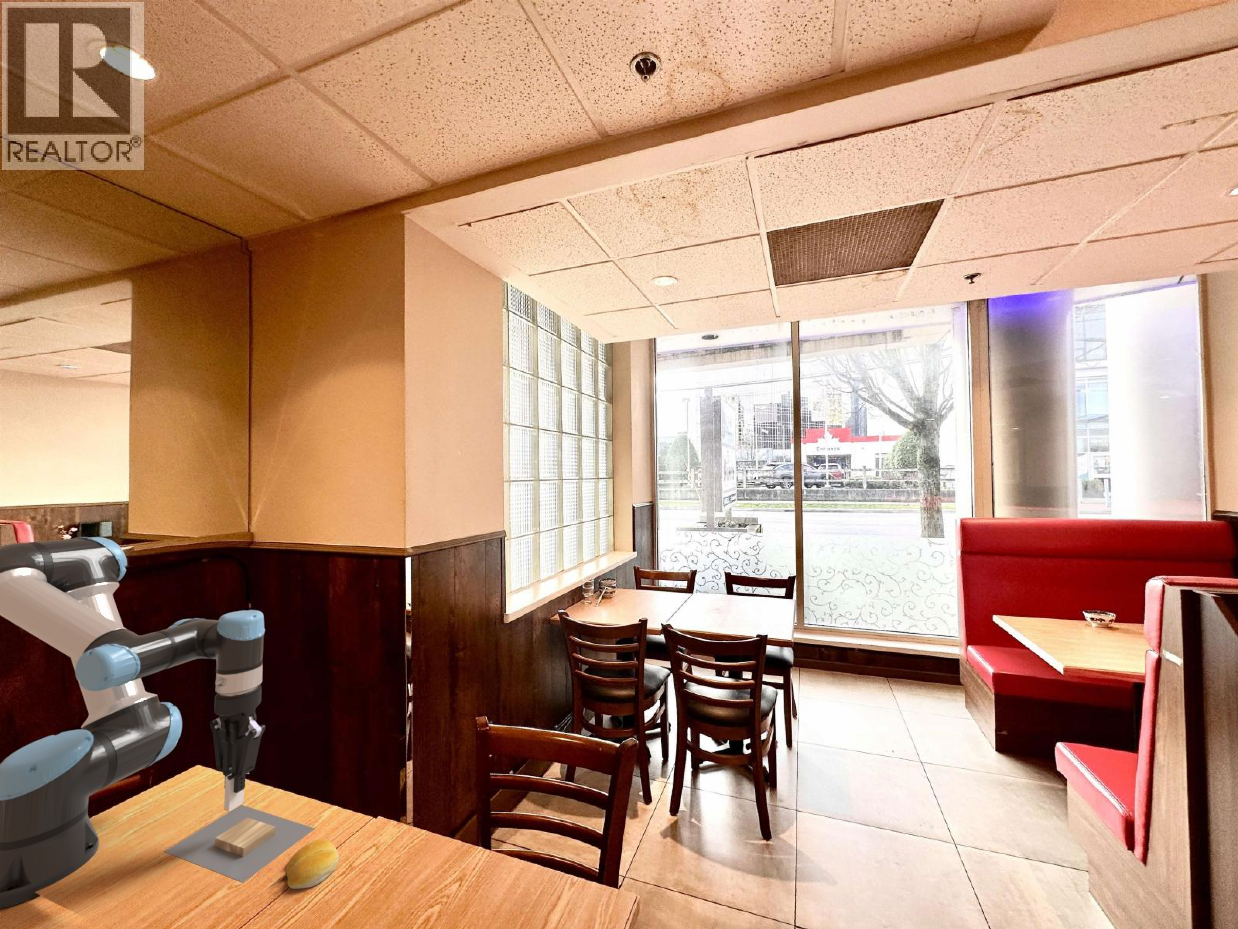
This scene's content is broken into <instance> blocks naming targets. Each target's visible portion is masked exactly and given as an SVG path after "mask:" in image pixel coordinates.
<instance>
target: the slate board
mask: <svg viewBox="0 0 1238 929" xmlns="http://www.w3.org/2000/svg"><path fill="white" fill-rule="evenodd" d="M246 818H251V819H254V820H257V821H260V822H263V823H266V824H269V825H272V826H275V835H274V836H272V837H271V838H269V839H268V840H266V841H265V842H264V843H262V844H261V845H259V846H258V847H256V848H255V849H254V850H252V851H251V852H249V853H248V854H246V855H245V856H244V857H243V856H240V855H237V854H234V853H232V852H229V851H226V850H224V849H221V848H218V847H215V838H216V837H218V836H219V835H221V834H222V833H224V832H225V831H227V830H229V829H230V828H232V827H233V826H235V825H237V824H238V823H240V822H241V821H243V820H244V819H246ZM314 830H316V828H315V827H312V826H309V825H306V824H304V823H300V822H297V821H294V820H289V819H287V818H284V817H281V816H278V815H274V814H272V813H268V812H266V811H262V810H259V809H256V808H253V807H249V806H247V805H244V804H241V805H239V806H237V807H236V808H234V809H233V810H231V811H227V812H226V813H225V814H223V815H221V816H220V817H219V818H217V819H215V820H213V821H212V822H210V823H209V824H207V825H206V826H203V827H202V828H201V829H199V830H196V831H195V832H193V833H192V834H190V835H188V836H187V837H185V838H183V839H182V840H180V841H179V842H177V843H175V844H173V845H172V846H170V847H169V848H167V849H165V850H163V852H164V853H166V854H169V855H171V856H174V857H176V858H179V859H182V860H184V861H187V862H190V863H192V864H194V865H197V866H199V867H202V868H205V869H207V870H210V871H211V872H215V873H217V874H220V875H222V876H225V877H228V878H230V879H232V880H234V881H235V880H236V881H238V882H241V883H246V882H247V880H249V879H250V878H251V877H254V875H256V874H257V873H258V872H259V871H261V870H262V869H264V868H265V867H266V866H267V865H269V864H270V863H272V862H273V861H275V859H277V858H278V857H279V856H281V855H282V854H283V853H285V852H287V851H288V850H289V849H290V848H292V846H294V845H296V844H297V843H298V842H299V841H301V840H302V839H304V838H305V837H306V836H308V835H309V834H310V833H311V832H313V831H314Z"/></svg>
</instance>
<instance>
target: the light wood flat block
mask: <svg viewBox="0 0 1238 929" xmlns="http://www.w3.org/2000/svg"><path fill="white" fill-rule="evenodd" d="M274 835H275V826H272V825H269V824H266V823H263V822H260V821H257V820H254V819H251V818H246V819H244V820H243V821H241V822H240V823H238V824H237V825H235V826H233V827H232V828H230V829H229V830H227V831H225V832H224V833H222V834H221V835H219V836H218V837H216V838H215V847H218V848H221V849H224V850H226V851H229V852H232V853H234V854H237V855H240V856H243V857H244V856H245V855H246V854H248V853H249V852H251V851H252V850H254V849H255V848H256V847H258V846H259V845H261V844H262V843H264V842H265V841H266V840H268V839H269V838H271V837H272V836H274Z"/></svg>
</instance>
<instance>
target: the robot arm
mask: <svg viewBox="0 0 1238 929" xmlns="http://www.w3.org/2000/svg"><path fill="white" fill-rule="evenodd" d="M126 566H128V561H127V557H126V554H125V551H124V550H123V549H122V547H121V546H120V545H119V544H117V543H116V542H115V541H113V540H111V539H108V538H105V537H101V536H96V537H95V536H93V537H91V536H90V537H88V536H78V537H74V538H64V539H53V540H40V541H30V542H17V543H16V542H15V543H10V544H9V543H7V544H5V545H0V616H1V617H3V618H4V619H6V620H8V621H9V622H11V623H12V624H14V625H15V626H17V627H20V629H22V630H25V631H26V632H28V633H29V634H31V635H33V636H34V637H36V638H38V639H39V640H41V641H42V642H45V643H46V644H48V645H49V646H51V647H53V648H54V649H56V650H58V651H59V652H61V653H62V654H65V655H66V656H67V657H69V658H70V660H71V663H72V666H73V669H74V673H75V674H74V675H75V678H76V680H77V681H78V684H79V685H78V686H79V688H80V691H81V693H82V696H83V700H84V703H85V706H86V710H87V711H88V717H87V718H86V720H85V721H84V722H83V724H82V725H81V727H80V728H81V729H73V730H67V731H62V732H60V733H58V734H55V735H54V734H52V735H48V736H45V737H43V738H41V739H38V740H36V741H32V742H31V743H29V744H26V745H25V746H22V747H21V748H19V749H17V750H15V751H14V752H12V753H11V754H10V755H9V756H7V757H5V759H3V761H2V762H0V909H5V908H9V907H12V906H16V905H18V904H22V903H25V902H27V901H30V900H33V899H35V898H37V897H38V898H39V897H40V896H41V894H39V893H37V892H38V891H41V890H43V889H45V888H48V887H49V886H51V885H52V886H53V885H54V884H56V883H58V882H60V881H61V880H63V879H65V878H67V877H68V876H70V875H71V874H73V873H75V872H76V871H77V870H79V869H80V868H81V867H83V866H85V864H87V863H88V862H89V861H90V860H91V859H92V858H93V857H94V856H95V855H96V853H97V852H98V850H99V846H100V839H99V836H98V833H97V832H96V829H95V827H94V825H93V823H92V821H91V819H90V816H89V815H88V814H89V812H88V811H89V797H90V796H92V795H94V794H95V793H97V792H99V791H101V790H103V789H105V788H107V787H109V786H111V785H113V784H115V783H117V782H119V781H121V780H123V779H125V778H127V777H130V776H131V775H133V774H135V773H137V772H140V770H144V769H146V768H148V767H150V766H152V765H153V764H155V763H156V762H158V761H160V760H162V759H163V758H165V757H166V756H167V755H169V754H170V753H171V752H172V751H173V750H174V749H175V747H176V746H177V743H178V741H179V739H180V737H181V734H182V729H183V719H182V715H181V711H180V710H179V709H178V707H177V706H176V705H174V704H173V703H171V702H166V701H165V702H164V701H162V702H160V699H159V696H158V694H157V693H156V694H155V693H151V692H148V691H146V690H145V686H144V683H143V681H142V678H143V677H148V676H150V675H153V674H155V673H158V672H160V671H164V670H167V669H170V668H173V667H175V666H179V665H182V664H185V663H188V662H190V661H193V660H197V659H208V660H209V659H210V660H216V667H215V673H216V675H215V676H216V677H215V682H214V684H215V693H216V694H215V695H214V706H213V707H214V709H213V711H214V714H216V715H217V716H218V717H217V718H216V719H213V720H210V722H209V726H210V729H211V732H212V737H213V746H214V747H213V749H214V755H215V756H214V757H215V766H216V770H217V771H222V775H223V776H224V804H223V805H224V806H223V810H224V811H226V812H230V811H232V810H233V809H235V808H237V807H238V806H240V805H243V804H244V801H245V800H244V799H245V787H246V774H248V773H249V772H251V771H253V770H254V769H255V767H256V763H257V758H258V754H259V749H260V745H261V739H262V736H263V733H264V732H265V730H266V725H265V724H261V725H259V724H258V723H257V714H256V708H257V707H258V706H259V705H260V704H261V702H262V689H263V688H262V687H263V686H262V685H261V684H262V682H263V671H264V670H263V667H264V666H263V662H264V661H263V658H264V657H263V656H264V655H263V654H264V641H265V640H264V638H265V632H266V629H265V617H264V613H263V612H262V611H260V610H258V609H257V610H256V609H248V610H244V609H243V610H238V611H232V612H228V613H225V614H222V615H221V616H220V617H219V619H217V620H216V619H206V618H199V617H198V618H197V617H195V618H186V619H185V618H184V619H181V620H178V621H175V622H174V623H173V624H172V625H170V626H169V627H168V628H166V629H162V630H161V629H160V630H158V631H154V632H150V633H146V634H143V635H138V634H137V633H135V632H134V631H131V630H129V629H127V628H126V627H124V625H123V621H122V618H121V616H120V613H119V611H118V608H117V604H116V602H115V599H114V593H115V592H116V590H118V588H119V587H120V583H119V581H121V579H123V577H124V576H125V574H126V572H127V569H126Z"/></svg>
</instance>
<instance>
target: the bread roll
mask: <svg viewBox="0 0 1238 929" xmlns="http://www.w3.org/2000/svg"><path fill="white" fill-rule="evenodd" d="M339 857H340V855H339V852H338V850H337V848H336V846H335V845H334V844H333V843H332V842H331V841H329V840H326V839H318V840H315V841H311V842H309V843H307V844H305V845H304V846H302V847H301V848H299V849H298V850H297V851H296V852H294V854H293V855H292V856H291V857H290V859H289V860H288V861H287V864H286V869H285V871H286V872H285V874H286V877H287V885H288V887H289V888H290V889H293V890H299V889H300V890H301V889H307V888H312V887H315V886H317V885H319V884H320V883H322V882H323V881H325V880H326V879H327V878H328V877H329V876H330V875H331V874H332V873H333V872H334V871H335V869H336V867H337V866H338V862H339Z"/></svg>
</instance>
